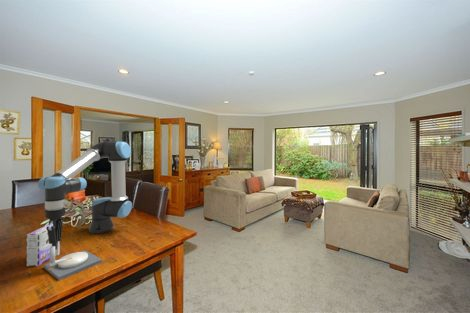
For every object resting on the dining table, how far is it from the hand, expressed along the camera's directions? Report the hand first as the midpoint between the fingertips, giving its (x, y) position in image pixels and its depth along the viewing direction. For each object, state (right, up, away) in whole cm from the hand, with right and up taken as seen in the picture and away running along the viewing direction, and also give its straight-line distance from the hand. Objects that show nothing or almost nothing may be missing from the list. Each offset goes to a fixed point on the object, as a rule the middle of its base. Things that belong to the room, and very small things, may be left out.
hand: (55, 254), depth 102 cm
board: (+7, -6, +2) cm, 10 cm away
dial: (+6, -5, +1) cm, 8 cm away
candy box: (-12, -6, +7) cm, 15 cm away
